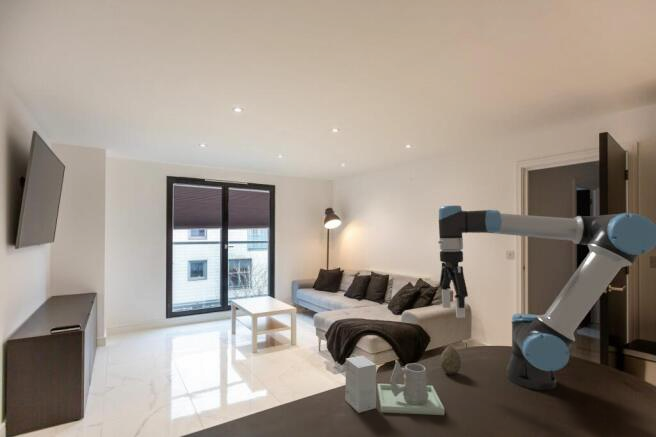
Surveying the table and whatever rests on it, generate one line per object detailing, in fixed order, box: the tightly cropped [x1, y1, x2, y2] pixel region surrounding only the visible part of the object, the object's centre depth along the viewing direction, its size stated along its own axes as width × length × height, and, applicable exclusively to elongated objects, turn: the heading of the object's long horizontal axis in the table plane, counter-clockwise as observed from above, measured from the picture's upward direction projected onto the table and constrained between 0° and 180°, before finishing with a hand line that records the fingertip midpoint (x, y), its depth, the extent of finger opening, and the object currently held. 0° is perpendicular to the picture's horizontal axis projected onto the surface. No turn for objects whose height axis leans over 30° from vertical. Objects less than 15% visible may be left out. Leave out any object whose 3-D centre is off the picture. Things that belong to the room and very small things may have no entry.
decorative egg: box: [440, 346, 462, 375], centre depth 125 cm, size 7×7×10 cm
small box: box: [344, 355, 377, 414], centre depth 103 cm, size 8×6×13 cm
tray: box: [376, 383, 446, 416], centre depth 105 cm, size 18×14×2 cm
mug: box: [389, 359, 428, 405], centre depth 105 cm, size 8×12×12 cm, turn 94°
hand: (453, 312), depth 117 cm, fingers open, 13 cm apart
